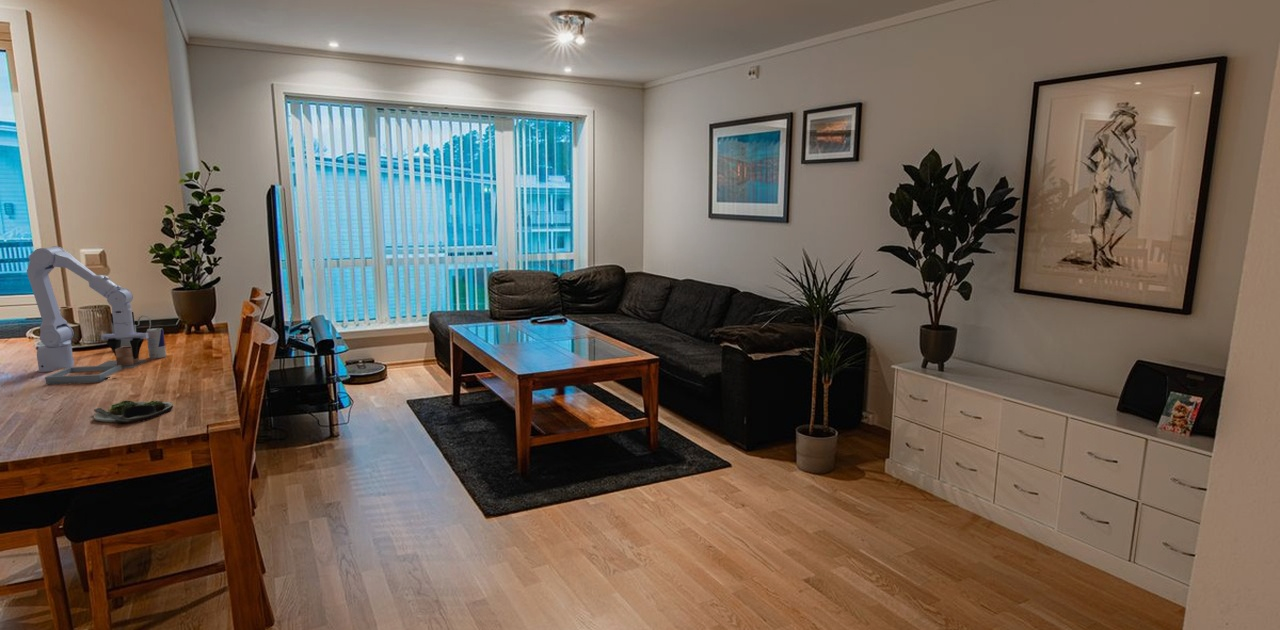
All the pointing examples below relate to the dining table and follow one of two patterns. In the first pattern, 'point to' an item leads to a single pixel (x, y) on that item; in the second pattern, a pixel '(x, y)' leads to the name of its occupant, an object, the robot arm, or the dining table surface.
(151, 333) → the energy drink
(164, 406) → the salad plate
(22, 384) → the dining table surface
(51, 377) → the grey square frame
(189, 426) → the dining table surface
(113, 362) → the stake board
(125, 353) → the tan block
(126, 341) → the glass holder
